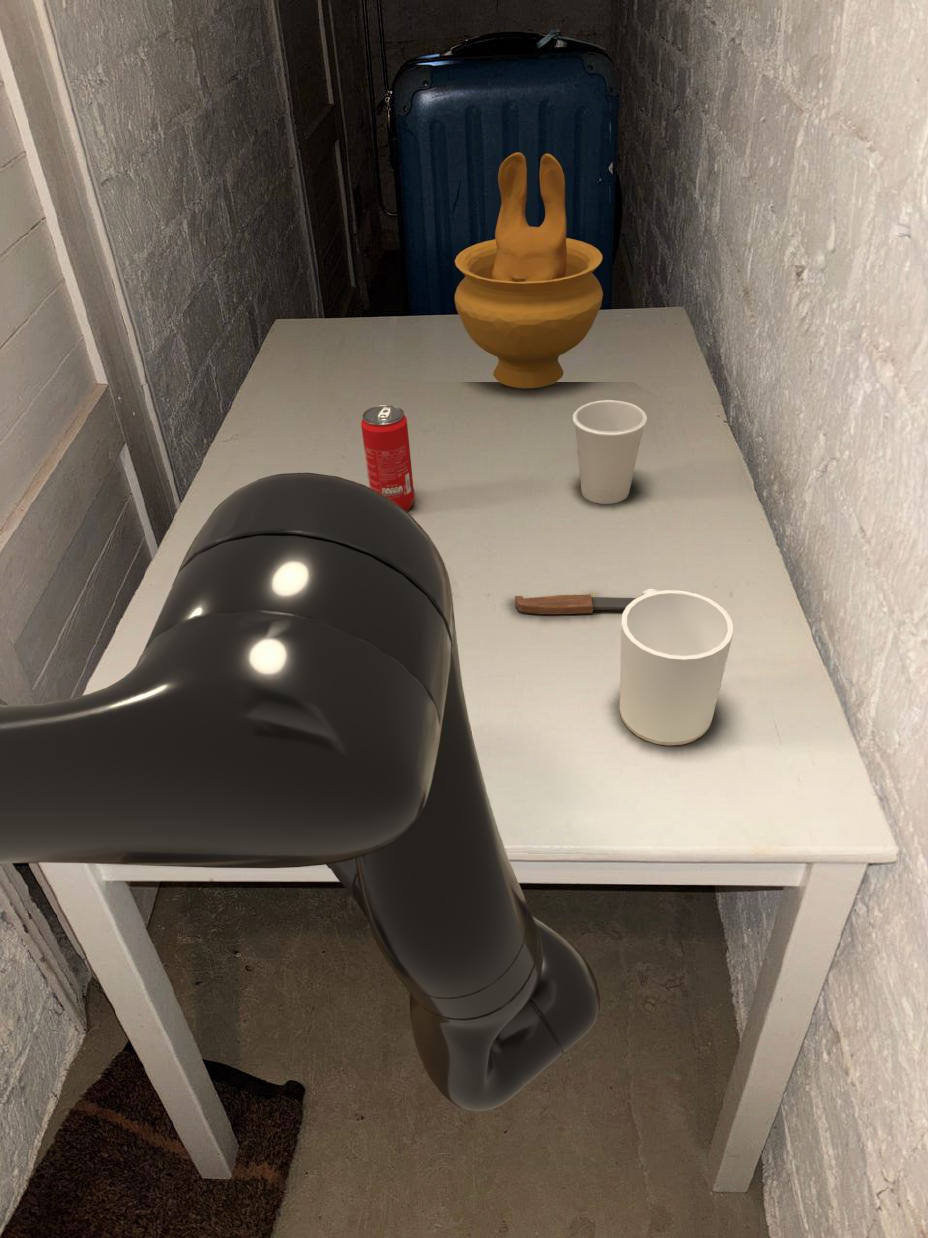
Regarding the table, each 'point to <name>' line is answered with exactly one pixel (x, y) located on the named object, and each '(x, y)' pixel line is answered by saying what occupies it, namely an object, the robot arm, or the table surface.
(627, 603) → the knife
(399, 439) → the beverage can
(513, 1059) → the robot arm
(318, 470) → the table surface
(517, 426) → the table surface
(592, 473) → the dixie cup
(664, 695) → the mug
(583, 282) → the decorative bowl
